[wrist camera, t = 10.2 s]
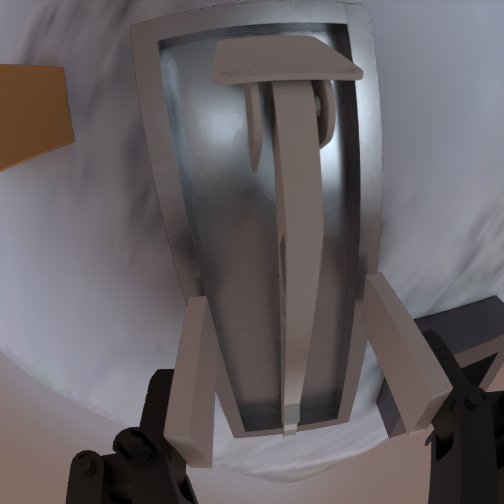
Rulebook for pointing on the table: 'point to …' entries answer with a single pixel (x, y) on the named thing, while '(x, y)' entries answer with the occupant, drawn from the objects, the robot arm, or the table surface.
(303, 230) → the bracket
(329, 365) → the tray
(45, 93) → the tan rectangular block
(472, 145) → the table surface
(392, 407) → the socket
